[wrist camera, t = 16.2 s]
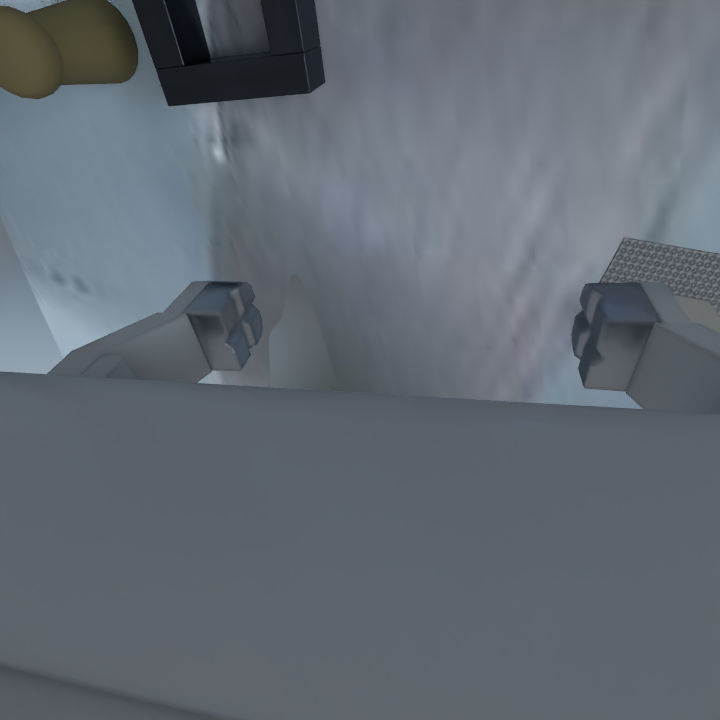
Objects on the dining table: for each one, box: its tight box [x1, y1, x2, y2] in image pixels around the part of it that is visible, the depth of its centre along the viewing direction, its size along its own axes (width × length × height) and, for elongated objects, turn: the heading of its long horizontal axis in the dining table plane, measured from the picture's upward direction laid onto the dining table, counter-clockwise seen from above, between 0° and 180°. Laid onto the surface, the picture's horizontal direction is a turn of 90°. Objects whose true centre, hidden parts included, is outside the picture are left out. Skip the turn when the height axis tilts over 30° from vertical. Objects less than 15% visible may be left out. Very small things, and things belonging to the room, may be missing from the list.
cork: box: [0, 0, 138, 99], centre depth 32 cm, size 6×6×11 cm
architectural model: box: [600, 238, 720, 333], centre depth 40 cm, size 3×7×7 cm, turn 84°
